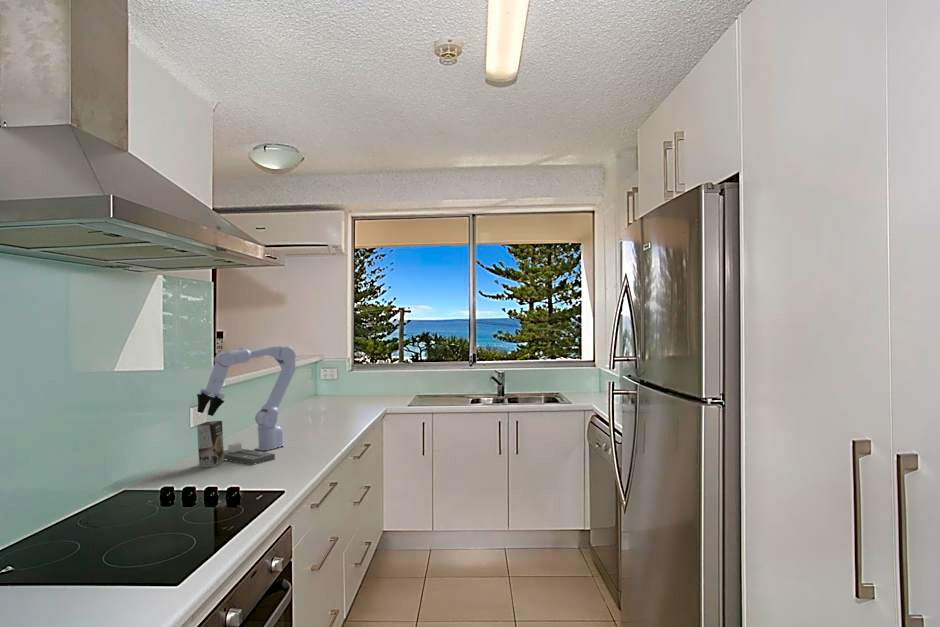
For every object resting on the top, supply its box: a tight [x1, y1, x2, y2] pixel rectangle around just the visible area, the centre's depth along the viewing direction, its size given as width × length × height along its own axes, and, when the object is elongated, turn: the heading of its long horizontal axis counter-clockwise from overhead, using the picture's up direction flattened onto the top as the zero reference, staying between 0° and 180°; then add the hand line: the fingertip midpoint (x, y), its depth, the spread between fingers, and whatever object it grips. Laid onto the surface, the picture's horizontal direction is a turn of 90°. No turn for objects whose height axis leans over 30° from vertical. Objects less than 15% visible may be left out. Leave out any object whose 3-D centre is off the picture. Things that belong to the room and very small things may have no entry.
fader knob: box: [227, 442, 243, 453], centre depth 261 cm, size 4×3×3 cm
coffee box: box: [196, 420, 225, 468], centre depth 250 cm, size 9×6×16 cm
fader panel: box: [224, 448, 276, 465], centre depth 257 cm, size 10×26×2 cm, turn 53°
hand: (205, 413), depth 259 cm, fingers open, 7 cm apart
